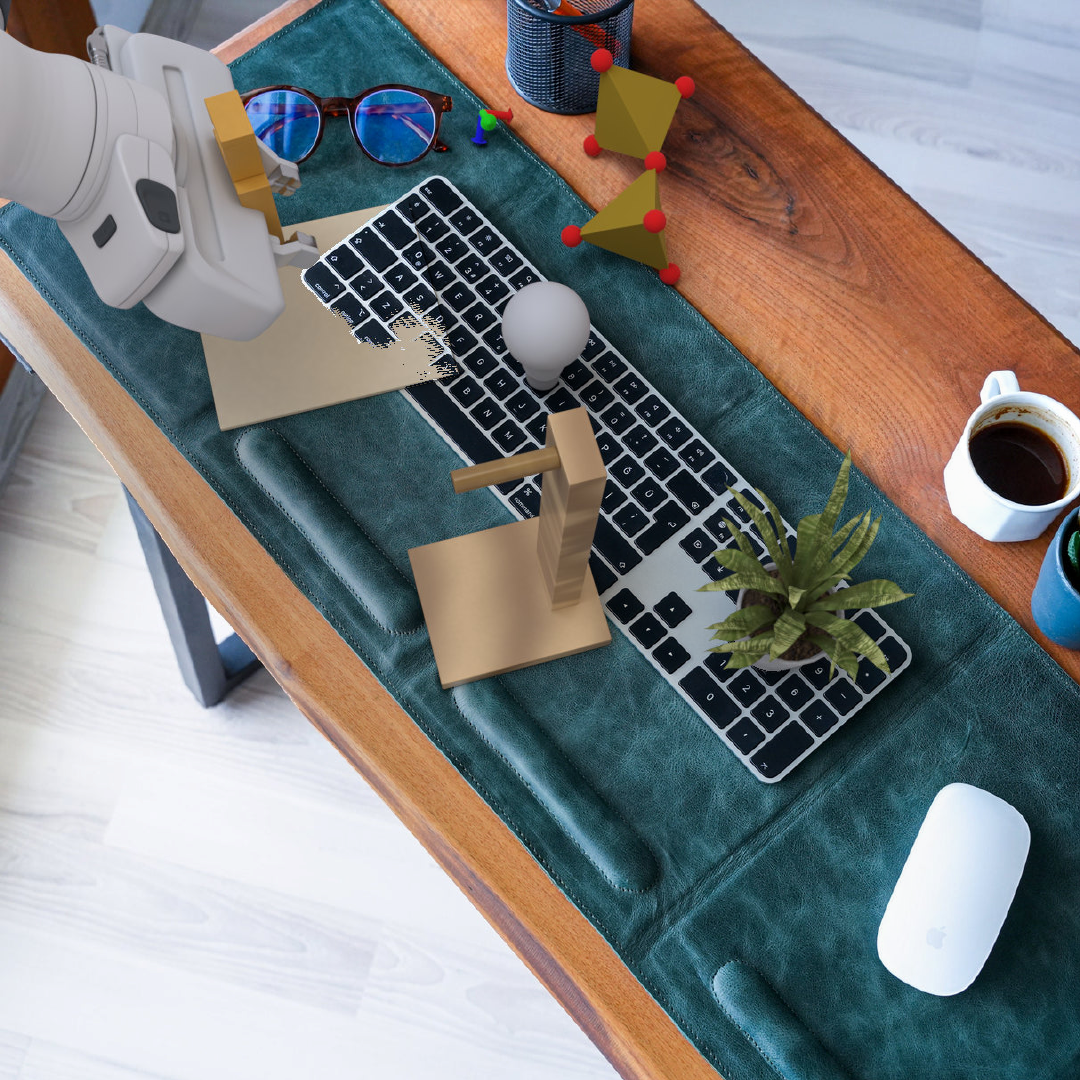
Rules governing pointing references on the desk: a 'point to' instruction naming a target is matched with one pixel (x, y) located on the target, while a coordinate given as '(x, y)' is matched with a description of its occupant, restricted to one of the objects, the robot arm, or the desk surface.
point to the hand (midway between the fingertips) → (304, 218)
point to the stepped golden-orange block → (243, 157)
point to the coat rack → (520, 565)
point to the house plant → (800, 591)
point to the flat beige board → (313, 349)
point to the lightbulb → (545, 330)
